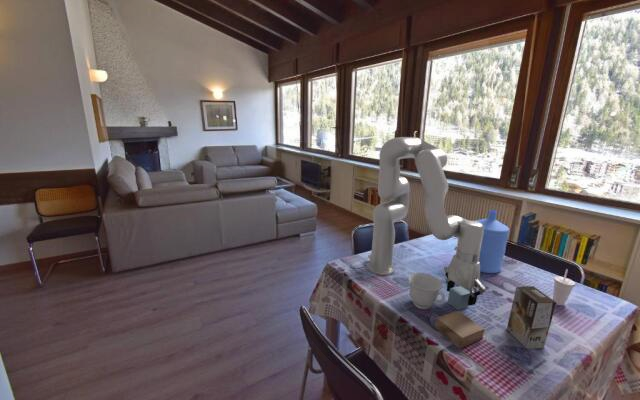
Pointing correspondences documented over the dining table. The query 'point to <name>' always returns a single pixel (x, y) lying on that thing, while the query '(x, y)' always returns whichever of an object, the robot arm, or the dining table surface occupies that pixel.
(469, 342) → the tan flat block
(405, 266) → the dining table surface
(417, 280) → the teacup
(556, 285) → the smoothie
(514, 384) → the dining table surface
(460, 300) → the slate block
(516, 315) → the coffee box
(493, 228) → the water jug
